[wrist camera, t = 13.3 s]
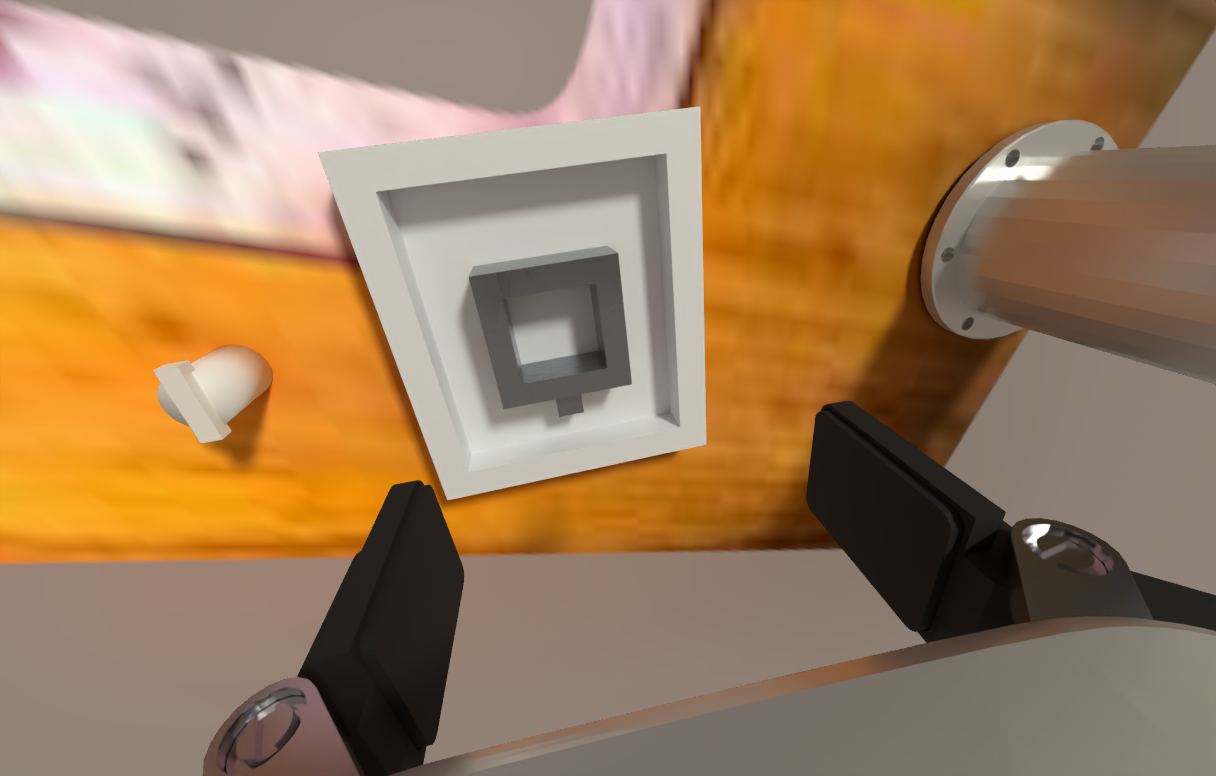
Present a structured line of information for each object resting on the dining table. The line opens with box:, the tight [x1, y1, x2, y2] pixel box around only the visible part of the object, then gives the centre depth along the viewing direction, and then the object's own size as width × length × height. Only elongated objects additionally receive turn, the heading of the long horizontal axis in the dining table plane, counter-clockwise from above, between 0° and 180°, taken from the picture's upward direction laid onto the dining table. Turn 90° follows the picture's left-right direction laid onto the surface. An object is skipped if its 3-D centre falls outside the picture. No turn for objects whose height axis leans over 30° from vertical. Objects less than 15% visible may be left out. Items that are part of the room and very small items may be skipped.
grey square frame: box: [469, 245, 632, 417], centre depth 23 cm, size 7×8×3 cm
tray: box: [318, 107, 706, 500], centre depth 23 cm, size 16×18×2 cm
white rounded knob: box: [154, 345, 273, 443], centre depth 20 cm, size 3×4×4 cm
